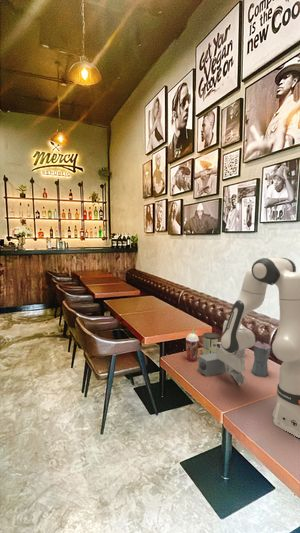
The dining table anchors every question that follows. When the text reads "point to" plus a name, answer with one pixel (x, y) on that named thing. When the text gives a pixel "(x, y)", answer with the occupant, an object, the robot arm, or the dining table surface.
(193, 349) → the smoothie
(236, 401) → the dining table surface
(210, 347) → the coffee can
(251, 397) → the dining table surface
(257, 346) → the moka pot
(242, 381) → the side door
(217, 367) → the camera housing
